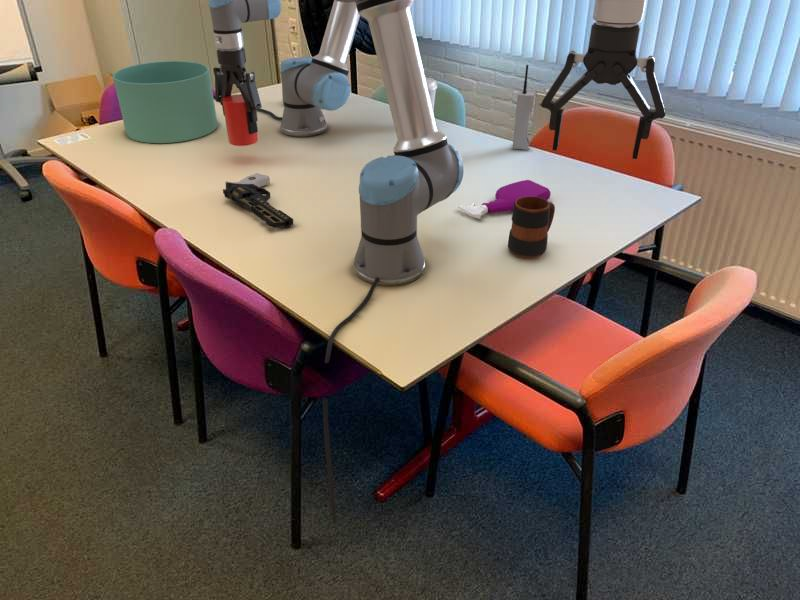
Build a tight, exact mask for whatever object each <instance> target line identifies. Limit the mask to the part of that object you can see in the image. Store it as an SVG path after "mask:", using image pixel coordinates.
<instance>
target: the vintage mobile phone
mask: <svg viewBox="0 0 800 600" xmlns="http://www.w3.org/2000/svg"><path fill="white" fill-rule="evenodd" d="M528 74H529V64H526V65H525V74H524V81H523V90H522V91H518V92H517V98H516V99H517V100H516V109H515V119H514V126H513V138H512V149H513V150H523V151H525V150H526V151H528V150H529V149H530V140H529V137H528V129H529V121H530V115H531V113H532V112H533V111H532V110H533V106H534V102H535V97H536V92H535V91H534V92H533V91H527V89H528V88H527V86H528Z"/></svg>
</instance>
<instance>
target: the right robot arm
mask: <svg viewBox="0 0 800 600" xmlns="http://www.w3.org/2000/svg"><path fill="white" fill-rule="evenodd" d="M336 1H339V2H346V3H349V2H355V3H356V7H357V10H358V14H359V15H360V17H362V18H364V19H366V21H367V23H368V26H369V30H370V34H371V38H372V42H373V46H374V50H375V54H376V58H377V62H378V66H379V70H380V74H381V78H382V82H383V86H384V90H385V94H386V98H387V102H388V106H389V109H390V114H391V118H392V121H393V122H392V123H393V125H394V129H395V133H396V137H397V141H396V143H395V145H394V147H393V149H392V151H393V155H387V156H385V157H384V156H380V157H377V158H374V159H373V160H371V161H369V162H367V163H366V164H365V165H364V166H363V168H362V169H361V171H360V174H359V184H358V195H359V210H360V211H359V212H360V239H359V242H358V247H357V249H356V252H355V256H354V259H353V270H354V273H355V275H356V276H357V277H358V278H359V279H360V280H362V281H364V282H366V283H369V284H370V285H371V286H370V288H369V290H368V291H367V294H366V296H365V297H364V299H363V300H362V301H361V303H360V304H359V305H358V306H357V307H356V308H355V309H354V311H352V312H351V313H350V314H349V315H348V316H347V317H346V318H345V319H343V320H342V321H341V322H340V323H338V325H336V326H335V328H334V329H333V331H332V332H331V334H330V335H329V337H328V341H327V345H326V351H325V356H324V363H325V364H328V363H330V360H331V354H332V348H333V343H334V340H335V338H336V336H337V334H338V333H339V331H340V330H342V328H343V327H344V326H345V325H347V324H348V323H349V322H350V321H352V320H353V319H354V318H355V317H356V316H357V315H358V314H359V313H360V311H362V309H363V308H364V307H365V306H366V305H367V303H368V302H369V301H370V299H371V297H372V296H373V293H374V291H375V289H376V287H377V286H382V287H395V286H402V285H406V284H410V283H413V282H415V281H417V280H418V279H420V278H421V276H423V274H424V273H425V270H426V261H425V255H424V252H423V250H422V247H421V244H420V241H419V238H418V215H419V214H421V213H423V212H424V211H427V210H428V209H430V208H431V207H433V206H435V205H436V204H438V203H441V202H443V201H444V200H447V199H448V198H449V197H450V196H451V195H452V194H454V193H455V192H456V191H457V190H458V189H459V187H460V186H461V183H462V181H463V178H464V162H463V159H462V156H461V155H460V153H459V151H458V150H456V149H455V147H454V146H453V145H451V144H450V143H448V138H447V135H446V134H444V133H443V132H441V131H440V130H439V129H438V127H437V123H436V118H435V114H434V110H433V109H432V105H431V100H430V96H429V91H428V87H427V83H426V78H427V77H426V74H425V69H424V65H423V60H422V57H421V53H420V47H419V43H418V40H417V35H416V31H415V25H414V21H413V16H412V13H411V12H412V11H411V7H412V5H413V3H414V1H415V0H336ZM646 1H647V0H594V7H593V13H592V19H593V20H594V21H595V22H593V23H592V24H591V26H590V32H589V33H590V34H589V40H588V45H587V51H586V53H584V54H583V53H578V52H576V51H575V50H570V51H569V52H568V54H567V56H566V60H565V64H564V67H563V68H562V69H561V71H560V72H559V74H558V76H557V77H556V79H555V80H554V82H553V83H552V84H551V86H550V87H549V89H548V91H547V93H546V94H545V95H544V97H543V99H542V101H541V102H540V105H541V108H543V109H547V110H549V112H550V115H549V116H550V117H549V124H548V129H549V131H554V136H553V142H552V151H558V149H559V143H560V136H561V130H562V122H563V116H564V109H563V107H564V106H565V105H566V104H567V103H568V102H569V101H570V100H572V99H573V98H574V97H575V96H576V95H577V94H578V93H579V92H581V90H582V89H583V88H584V87H585V86H588V84H589V83H590V82H592V81H593V82H594V83H596V84H598V85H603V84H608V85H610V86H616V85H618V84H620V83H621V84H622V86H623V87H624V89H625V90H626V91H627V93H628V94H629V96H630V98H631V99H632V100H633V102H634V104H635V105H636V107H637V108H638V110H639V112H640V113H641V115H642V116H639V121H638V125H637V130H636V134H635V135H636V136H635V140H634V145H633V150H632V157H631V159H635V160H637V159H638V156H639V151H640V146H641V142H642V140H648V139H649V137H650V132H651V128H652V123H653V121H655V120H656V119H664V118H665V117H666V108H665V104H664V102H663V97H662V94H661V90H660V87H659V84H658V80H657V77H656V74H655V56H654V55H649V56H647V57H637V50H638V44H639V38H640V33H641V27H640V25H639V23H641V22H642V21H643V17H644V13H645V8H646ZM580 63H583V65H584V67H585V69H586V71H585V72H584V73H583V74H582V75H581V77H580V78H578V80H576V82H574V83H573V84H572V85H571V86H570V87H569V88H568V89H567V90H566V91H565V92H564V93H562V94H561V95H560V96H559V97H558V99H556V100H555V101H554V100H553V99H554V97H555V96H556V95H557V93H558V91H559V90H560V88H562V85H563V84H564V82H565V81H566V79H567V78H568V76H569V75H570V74H571V71H572V69H573V68H577V67H578V66H579V64H580ZM636 67H639V68H640V71H641V72H642V73H645V77H646V78H645V79H646V81H647V85H648V88H649V92H650V95H651V98H652V99H651V100H652V102H653V105H654V109H651V108H652V107H650V105H649V104H648V102H647V100H646V99H645V97H644V95H643V94H642V93H641V91H640V89H639V87H638V86H637V84H636V82H635V81H634V79H633V77H632V75H631V72H633V70H635V69H636ZM328 401H329V400H328V398H322V416H323V434H324V435H323V436H324V447H325V459H326V469H327V477H328V486H329V487H328V489H329V497H330V508H331V520H332V524H337V510H336V508H337V507H336V499H335V488H334V478H333V477H334V476H333V468H332V457H331V447H330V429H329V408H328V407H329V404H328Z"/></svg>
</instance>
